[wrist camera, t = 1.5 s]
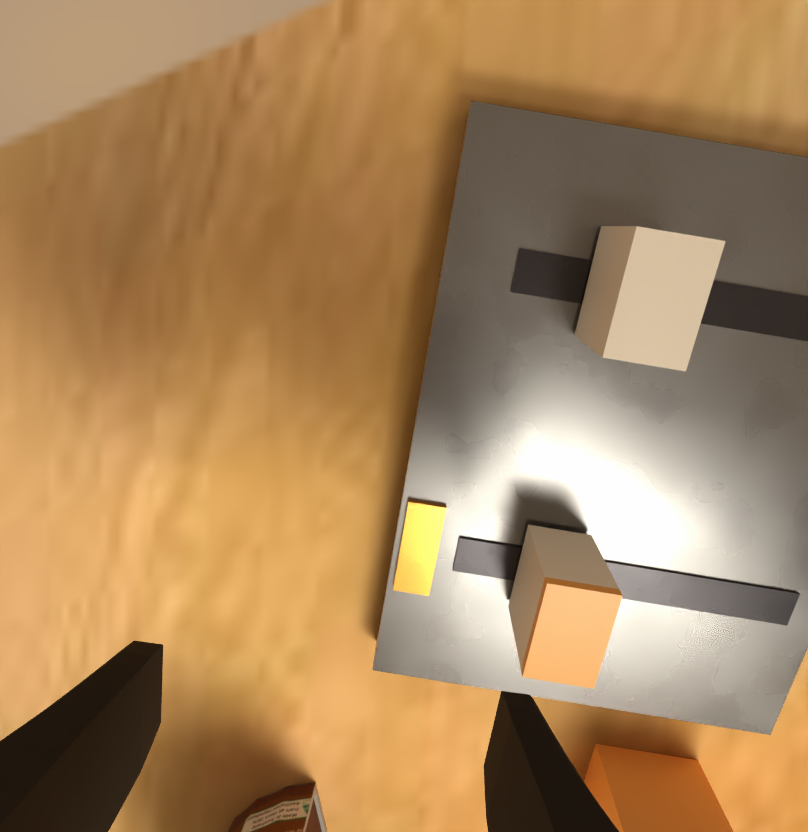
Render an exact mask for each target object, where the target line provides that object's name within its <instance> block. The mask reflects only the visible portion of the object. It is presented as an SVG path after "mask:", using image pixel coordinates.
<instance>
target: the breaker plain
mask: <svg viewBox="0 0 808 832" xmlns="http://www.w3.org/2000/svg"><path fill="white" fill-rule="evenodd" d="M725 242H726V241H722V240H716V239H710V238H704V237H698V236H692V235H686V234H680V233H674V232H668V231H662V230H656V229H650V228H644V227H638V226H601V229H600V233H599V237H598V241H597V245H596V249H595V254H594V258H593V262H592V266H591V270H590V274H589V278H588V282H587V286H586V290H585V294H584V299H583V303H582V307H581V311H580V315H579V319H578V323H577V327H576V331H575V335H574V336H575V337H576V338H578V339H579V340H580V341H582V342H583V343H584V344H585V345H587V346H588V347H589V348H591V349H592V350H593V351H595V352H596V353H597V354H598V355H600V356H601V357H602V358H608V359H614V360H620V361H626V362H632V363H638V364H644V365H650V366H656V367H662V368H668V369H674V370H680V371H686V369H687V366H688V363H689V360H690V356H691V353H692V350H693V346H694V343H695V340H696V337H697V333H698V330H699V327H700V323H701V320H702V317H703V314H704V310H705V307H706V304H707V301H708V297H709V294H710V291H711V287H712V284H713V281H714V278H715V274H716V271H717V268H718V264H719V261H720V258H721V255H722V251H723V248H724V245H725Z"/></svg>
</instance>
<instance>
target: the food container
mask: <svg viewBox="0 0 808 832" xmlns="http://www.w3.org/2000/svg"><path fill="white" fill-rule="evenodd" d="M228 832H327V828H326V824H325V820H324V816H323V811H322V807H321V803H320V799H319V794H318V790H317V786H316V782H315V783H308V784H301V785H294V786H288V787H286V788H283V789H281V790H278V791H276V792H273V793H271V794H269V795H266V796H264V797H261V798H259V799H257V800H256V801H254V802H253V803H252V804H251V805H250V806H249V807H247V808H246V809H245V810H244V811H243V812H242V813H240V814H239V815H238V816H237V817H236V818H235V819H234V820H233V822H232V824H231V826H230V828H229V830H228Z"/></svg>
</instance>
